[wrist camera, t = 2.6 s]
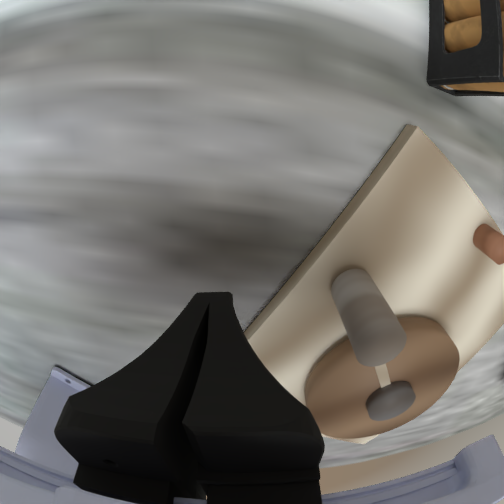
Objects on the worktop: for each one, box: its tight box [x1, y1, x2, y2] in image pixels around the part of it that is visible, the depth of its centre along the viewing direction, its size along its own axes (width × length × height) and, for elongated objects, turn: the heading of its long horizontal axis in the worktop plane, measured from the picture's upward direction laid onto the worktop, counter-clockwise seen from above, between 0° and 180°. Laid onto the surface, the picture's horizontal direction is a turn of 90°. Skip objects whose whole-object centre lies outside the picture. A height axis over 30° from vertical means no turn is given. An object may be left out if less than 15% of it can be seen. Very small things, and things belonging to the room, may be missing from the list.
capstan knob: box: [304, 269, 460, 439], centre depth 14 cm, size 14×10×4 cm
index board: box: [244, 125, 504, 444], centre depth 16 cm, size 16×19×3 cm
